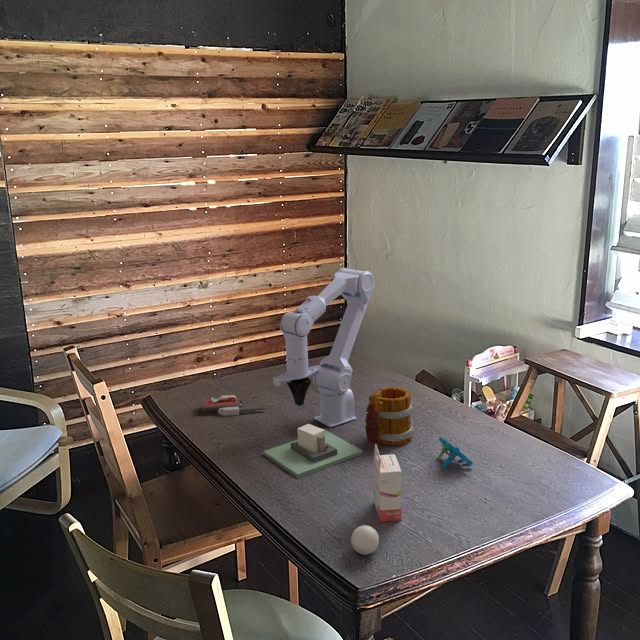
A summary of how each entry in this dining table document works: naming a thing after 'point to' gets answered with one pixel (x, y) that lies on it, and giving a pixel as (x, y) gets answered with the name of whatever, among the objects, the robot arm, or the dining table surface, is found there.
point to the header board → (312, 455)
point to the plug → (311, 438)
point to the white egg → (365, 540)
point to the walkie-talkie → (224, 406)
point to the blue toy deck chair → (451, 453)
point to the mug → (389, 417)
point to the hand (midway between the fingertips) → (299, 404)
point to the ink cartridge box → (387, 487)
